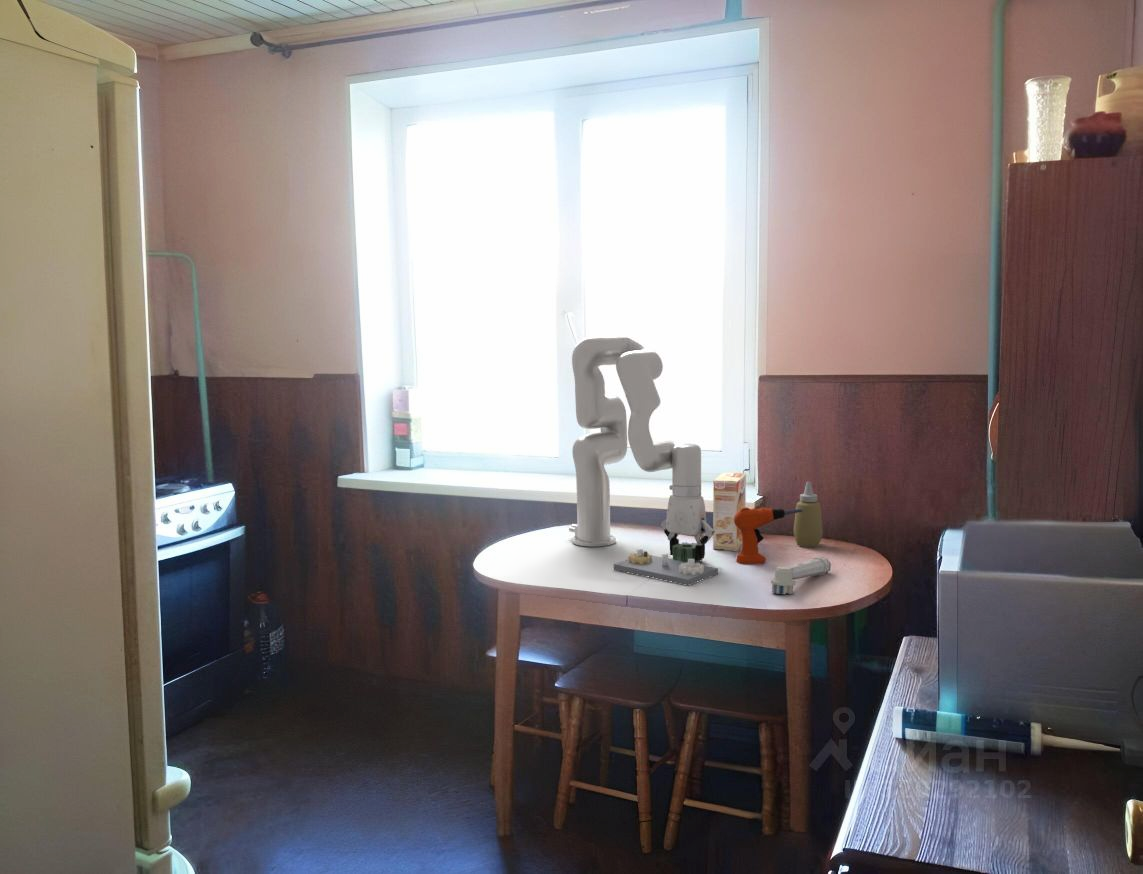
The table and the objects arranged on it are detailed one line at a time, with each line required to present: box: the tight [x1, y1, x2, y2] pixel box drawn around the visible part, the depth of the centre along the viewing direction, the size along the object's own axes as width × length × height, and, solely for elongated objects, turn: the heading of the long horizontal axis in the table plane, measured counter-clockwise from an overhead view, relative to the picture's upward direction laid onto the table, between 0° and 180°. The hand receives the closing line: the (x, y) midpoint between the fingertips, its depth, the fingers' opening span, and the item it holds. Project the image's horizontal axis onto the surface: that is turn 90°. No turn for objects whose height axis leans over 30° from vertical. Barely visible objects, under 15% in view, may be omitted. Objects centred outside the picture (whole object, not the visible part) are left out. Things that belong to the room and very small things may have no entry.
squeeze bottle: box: [793, 481, 824, 548], centre depth 248 cm, size 8×8×18 cm
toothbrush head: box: [770, 556, 832, 595], centre depth 212 cm, size 5×7×25 cm
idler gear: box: [672, 542, 703, 563], centre depth 235 cm, size 8×8×4 cm
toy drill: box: [734, 506, 803, 565], centre depth 232 cm, size 5×19×15 cm, turn 91°
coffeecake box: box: [712, 472, 747, 552], centre depth 251 cm, size 15×7×20 cm, turn 160°
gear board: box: [613, 548, 719, 586], centre depth 224 cm, size 23×13×4 cm, turn 48°
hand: (687, 556), depth 235 cm, fingers closed on idler gear, 7 cm apart
